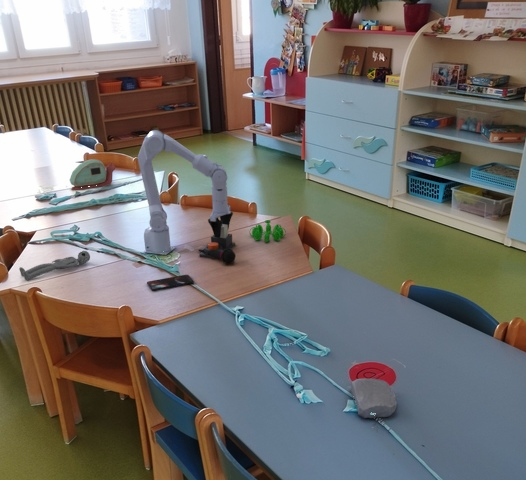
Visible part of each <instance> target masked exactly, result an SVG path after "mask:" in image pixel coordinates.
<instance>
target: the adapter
mask: <svg viewBox="0 0 526 480" xmlns="http://www.w3.org/2000/svg"><path fill="white" fill-rule="evenodd" d="M235 246H236V242H233V241H232V244H231V245H230V246H229V247H228V248H222V246H221V245H218V249H215V250H222V251H224V250H225V249H231V250H233V248H234V247H235ZM203 249H204V251H205V253H203V252H200V253H199V258H203V259H204V258H205V259H211V260H218V261H219V260H220V259H218V258H215V257H212V256H210V255H208V252H209V251H211V249H208V244H207V245H205V246H204V247H203Z"/></svg>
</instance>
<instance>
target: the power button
mask: <svg viewBox="0 0 526 480" xmlns="http://www.w3.org/2000/svg"><path fill="white" fill-rule="evenodd" d="M207 245H208V249H214V250H215V249H218V243H216V242H211V241H210V242H208V243H207Z"/></svg>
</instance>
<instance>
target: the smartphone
mask: <svg viewBox="0 0 526 480" xmlns="http://www.w3.org/2000/svg"><path fill="white" fill-rule="evenodd" d="M194 283H195V282H194V279H193V278H192V277H191V276H190V275H189V274H182V275H176V276H171V277H164V278H160V279H154V280H149V281H147V282H146V284H147V286H148V287H149V288H150V290H151V291H159V290H165V289H170V288H175V287H180V286H181V287H182V286H185V285H191V284H194Z"/></svg>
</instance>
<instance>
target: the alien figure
mask: <svg viewBox="0 0 526 480" xmlns="http://www.w3.org/2000/svg"><path fill="white" fill-rule="evenodd" d="M90 260H91V255H90V253H89V252H88V251H87V250H82V251H80V252H78V255H77V258H76V257H74V256H67V257H64V258H58V259H57V258H56V259H55V260H53V261H51V262H48V263H47V262H46V263H41V264H38V265H35V266H33V267H31V268H29V269H26V270H25V268H23V267H21V266H19V269H18V270H19V272H20V276H21V277H23V278H24V281H31V280H33V279H35V278H38V277H40V276H42V275H45V274H48V273H51V272H53V271H59V270H60V271H61V270H66V269H69V268H75V267H79V266H82V265H83V266H84V265H85V264H86V263H88V262H89V261H90Z"/></svg>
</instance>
